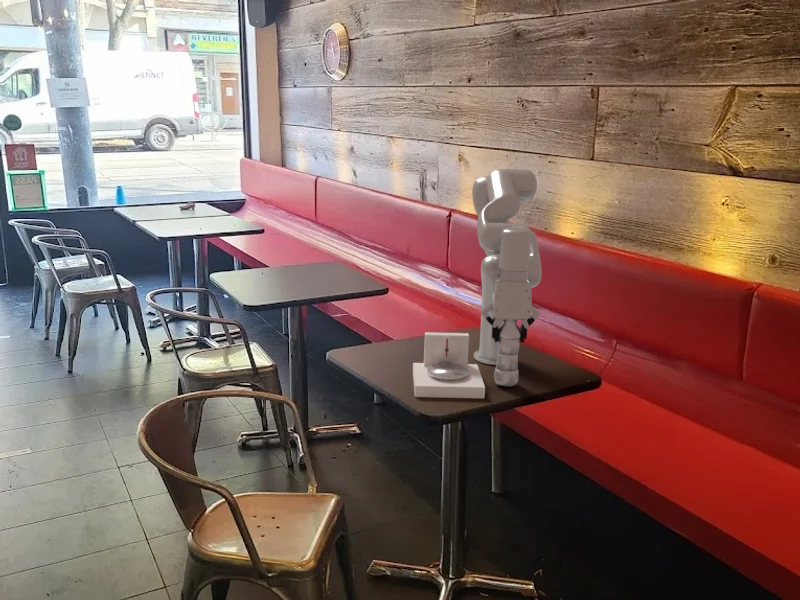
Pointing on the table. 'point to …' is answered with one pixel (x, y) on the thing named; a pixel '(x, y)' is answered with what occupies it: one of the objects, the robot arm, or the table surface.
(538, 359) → the table surface
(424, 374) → the scale
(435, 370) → the scale pan
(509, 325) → the plastic bottle
